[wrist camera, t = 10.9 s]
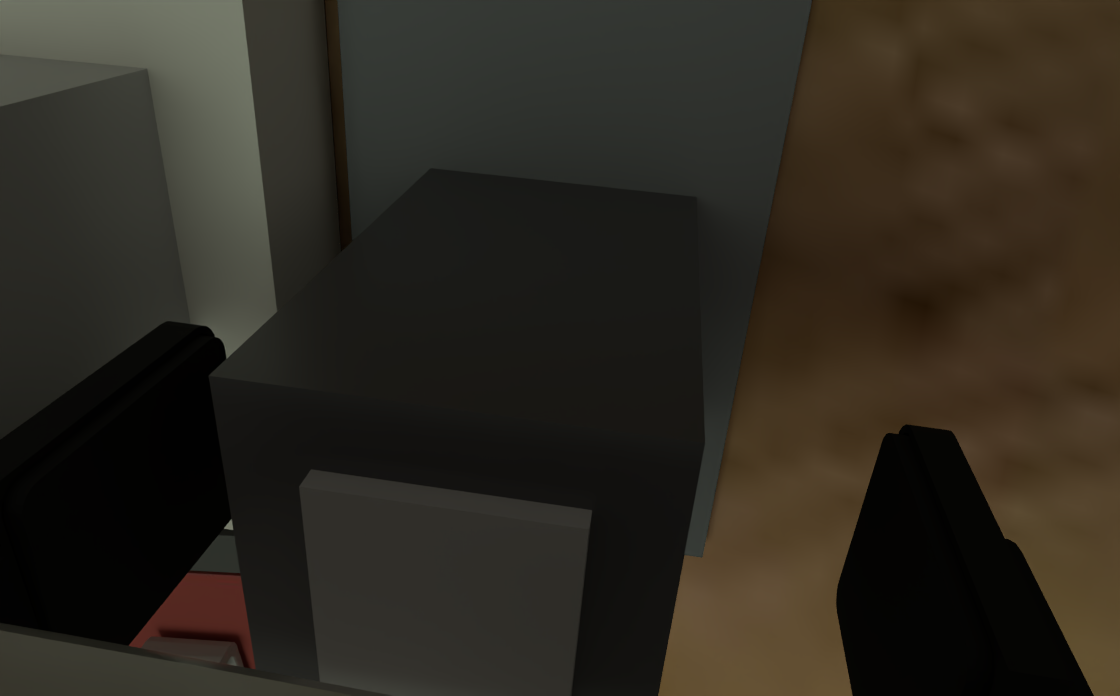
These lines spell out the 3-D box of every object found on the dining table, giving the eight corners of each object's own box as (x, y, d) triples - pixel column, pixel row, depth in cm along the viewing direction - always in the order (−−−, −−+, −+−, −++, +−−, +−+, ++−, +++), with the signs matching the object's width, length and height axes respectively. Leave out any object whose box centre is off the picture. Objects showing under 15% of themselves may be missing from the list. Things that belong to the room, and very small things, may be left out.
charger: (696, 196, 15) (705, 461, 7) (661, 424, 17) (642, 796, 10) (430, 168, 15) (193, 390, 8) (432, 393, 17) (250, 725, 10)
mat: (808, -11, 13) (813, -8, 13) (701, 540, 19) (702, 557, 19) (347, -47, 14) (334, -46, 14) (376, 492, 20) (368, 508, 19)
